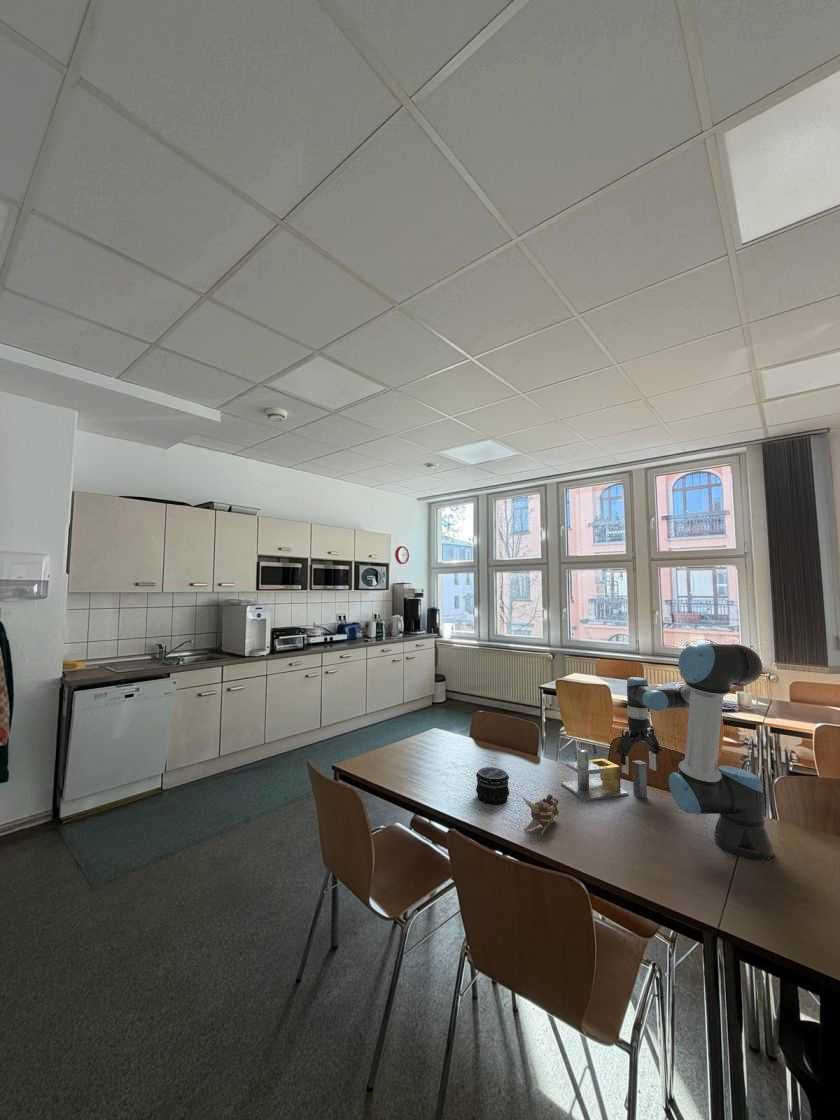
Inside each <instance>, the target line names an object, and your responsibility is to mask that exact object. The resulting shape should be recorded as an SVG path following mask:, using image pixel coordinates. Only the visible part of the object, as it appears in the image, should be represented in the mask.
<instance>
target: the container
mask: <svg viewBox="0 0 840 1120" xmlns="http://www.w3.org/2000/svg"><path fill="white" fill-rule="evenodd" d="M475 777H476V782H477V785H476V788H475V792H476V794H477V800H478V801H479V802H480V803H482V804H483V805H484V804H485V805H489V806H501V805H504V804H506V803H507V802H508V798H509V795H510V790H509V779H510V777H509V774H508V773H507V772H506V770H504V769H503V768H499V767H493V766H491V767H490V766H489V767H488V766H486V767H482V768H480V769H478V771H477V772H476V774H475Z"/></svg>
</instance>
